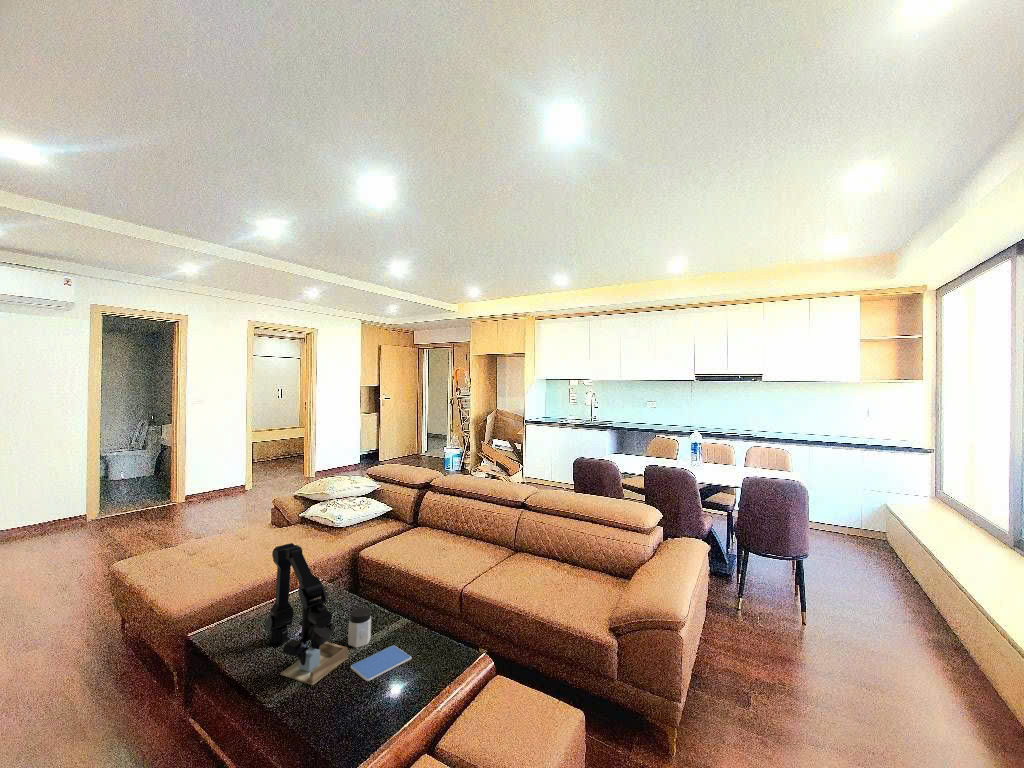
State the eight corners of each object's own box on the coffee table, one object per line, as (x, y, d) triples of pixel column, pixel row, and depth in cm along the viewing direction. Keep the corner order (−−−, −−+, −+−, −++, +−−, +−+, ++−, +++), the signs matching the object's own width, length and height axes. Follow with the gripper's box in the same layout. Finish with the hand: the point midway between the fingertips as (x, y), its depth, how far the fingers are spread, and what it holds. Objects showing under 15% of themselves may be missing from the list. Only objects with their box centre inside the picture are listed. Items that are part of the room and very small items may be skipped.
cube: (309, 671, 157) (309, 657, 157) (298, 668, 159) (299, 654, 159) (319, 663, 162) (320, 649, 162) (309, 660, 164) (309, 647, 164)
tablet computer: (393, 647, 177) (393, 643, 177) (412, 659, 169) (412, 656, 169) (349, 669, 162) (349, 665, 162) (367, 684, 154) (367, 680, 154)
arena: (280, 674, 157) (280, 663, 157) (317, 649, 173) (317, 639, 173) (312, 685, 152) (312, 673, 152) (347, 658, 168) (347, 647, 168)
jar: (350, 650, 173) (351, 619, 174) (345, 640, 180) (346, 610, 181) (373, 643, 178) (374, 613, 179) (367, 634, 185) (368, 605, 185)
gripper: (307, 635, 149) (305, 681, 149) (345, 610, 167) (344, 652, 166) (282, 628, 153) (280, 673, 153) (323, 605, 171) (321, 645, 170)
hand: (308, 660), depth 160 cm, fingers closed on cube, 5 cm apart
